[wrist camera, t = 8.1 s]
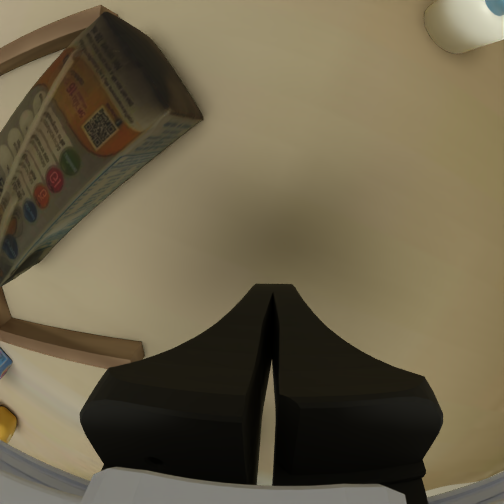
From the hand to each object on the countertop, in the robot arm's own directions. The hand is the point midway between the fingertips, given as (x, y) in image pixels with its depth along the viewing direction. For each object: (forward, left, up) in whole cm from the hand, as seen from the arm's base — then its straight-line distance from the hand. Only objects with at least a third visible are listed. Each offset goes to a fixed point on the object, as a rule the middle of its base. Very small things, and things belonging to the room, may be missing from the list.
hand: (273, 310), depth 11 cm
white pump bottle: (+15, -12, -10) cm, 22 cm away
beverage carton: (+5, +14, -11) cm, 19 cm away
